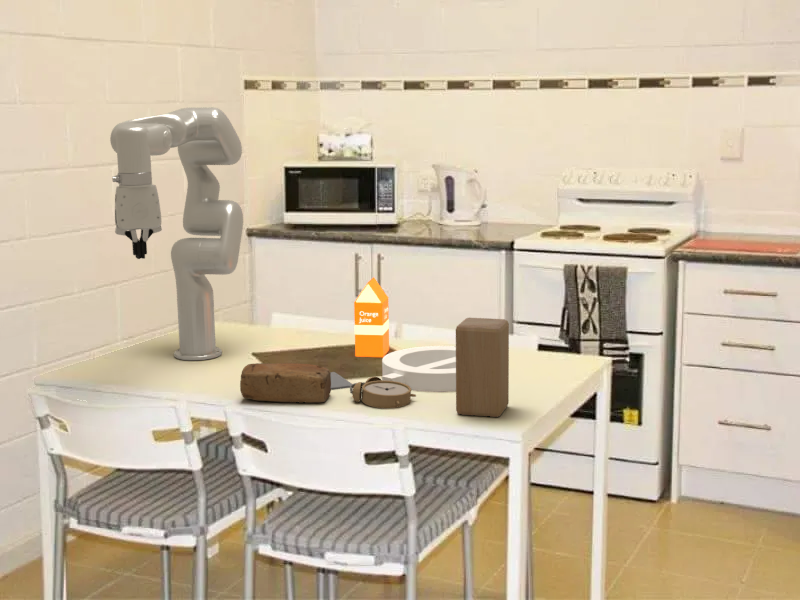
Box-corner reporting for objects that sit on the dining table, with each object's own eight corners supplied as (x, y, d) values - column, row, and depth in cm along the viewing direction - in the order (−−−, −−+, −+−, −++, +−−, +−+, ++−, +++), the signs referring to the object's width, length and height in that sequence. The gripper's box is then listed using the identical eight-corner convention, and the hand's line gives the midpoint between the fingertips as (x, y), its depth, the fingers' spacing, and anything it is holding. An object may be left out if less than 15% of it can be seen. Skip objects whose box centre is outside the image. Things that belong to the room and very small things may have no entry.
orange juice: (389, 349, 313) (388, 276, 309) (383, 357, 304) (382, 282, 301) (361, 348, 314) (359, 276, 310) (354, 356, 306) (352, 282, 302)
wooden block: (465, 403, 261) (465, 316, 257) (509, 406, 258) (509, 318, 254) (455, 415, 252) (454, 325, 248) (500, 418, 249) (500, 328, 245)
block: (238, 401, 263) (325, 406, 261) (238, 369, 262) (325, 374, 260) (249, 388, 274) (333, 393, 272) (249, 357, 272) (333, 362, 270)
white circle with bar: (381, 393, 271) (380, 374, 270) (383, 364, 298) (383, 346, 298) (500, 392, 271) (500, 372, 270) (492, 363, 298) (492, 345, 297)
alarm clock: (395, 399, 255) (340, 379, 262) (392, 420, 256) (337, 399, 263) (421, 387, 264) (367, 368, 271) (418, 407, 266) (364, 387, 273)
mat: (248, 383, 280) (248, 381, 280) (334, 373, 289) (334, 371, 289) (265, 397, 268) (265, 396, 268) (354, 386, 276) (354, 385, 276)
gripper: (105, 183, 262) (111, 263, 266) (171, 179, 268) (175, 257, 272) (99, 180, 269) (105, 258, 272) (163, 176, 275) (167, 253, 278)
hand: (140, 257), depth 272 cm, fingers closed
